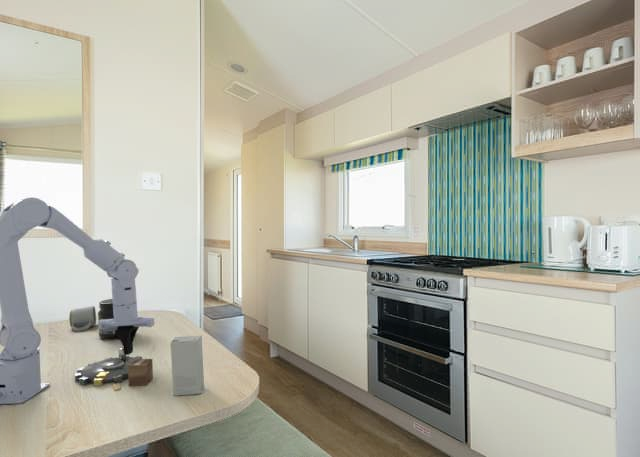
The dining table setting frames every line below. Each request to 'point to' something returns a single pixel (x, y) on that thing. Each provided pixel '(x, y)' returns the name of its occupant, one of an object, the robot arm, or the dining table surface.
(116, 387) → the pointer
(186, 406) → the dining table surface
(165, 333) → the dining table surface
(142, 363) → the walnut block
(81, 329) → the ceramic mug
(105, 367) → the sprocket
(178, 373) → the skincare box
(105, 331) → the supplement container
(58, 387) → the dining table surface
